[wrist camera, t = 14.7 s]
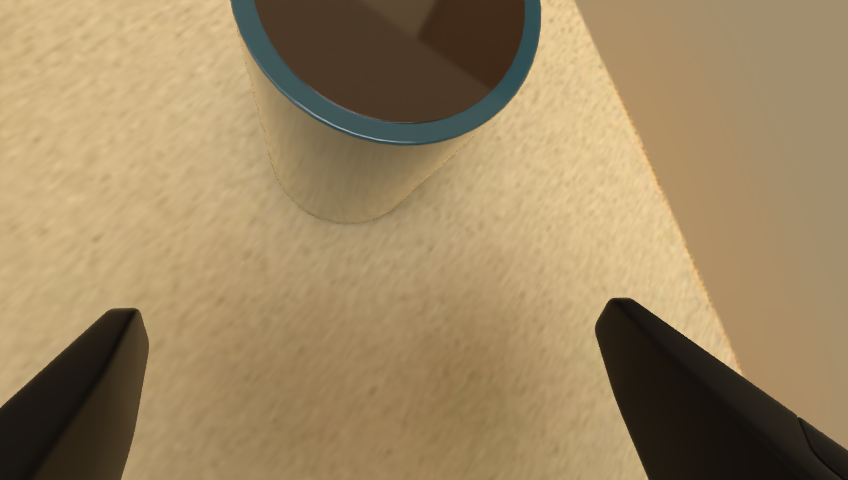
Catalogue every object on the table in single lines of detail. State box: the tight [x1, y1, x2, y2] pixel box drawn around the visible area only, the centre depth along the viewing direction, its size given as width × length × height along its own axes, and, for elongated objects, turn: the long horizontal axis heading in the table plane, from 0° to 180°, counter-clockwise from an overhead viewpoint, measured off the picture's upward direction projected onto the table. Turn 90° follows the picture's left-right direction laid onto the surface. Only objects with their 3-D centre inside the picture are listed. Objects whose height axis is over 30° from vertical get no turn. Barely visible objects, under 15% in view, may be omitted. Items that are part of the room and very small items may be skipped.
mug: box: [230, 0, 541, 224], centre depth 16 cm, size 10×7×13 cm
